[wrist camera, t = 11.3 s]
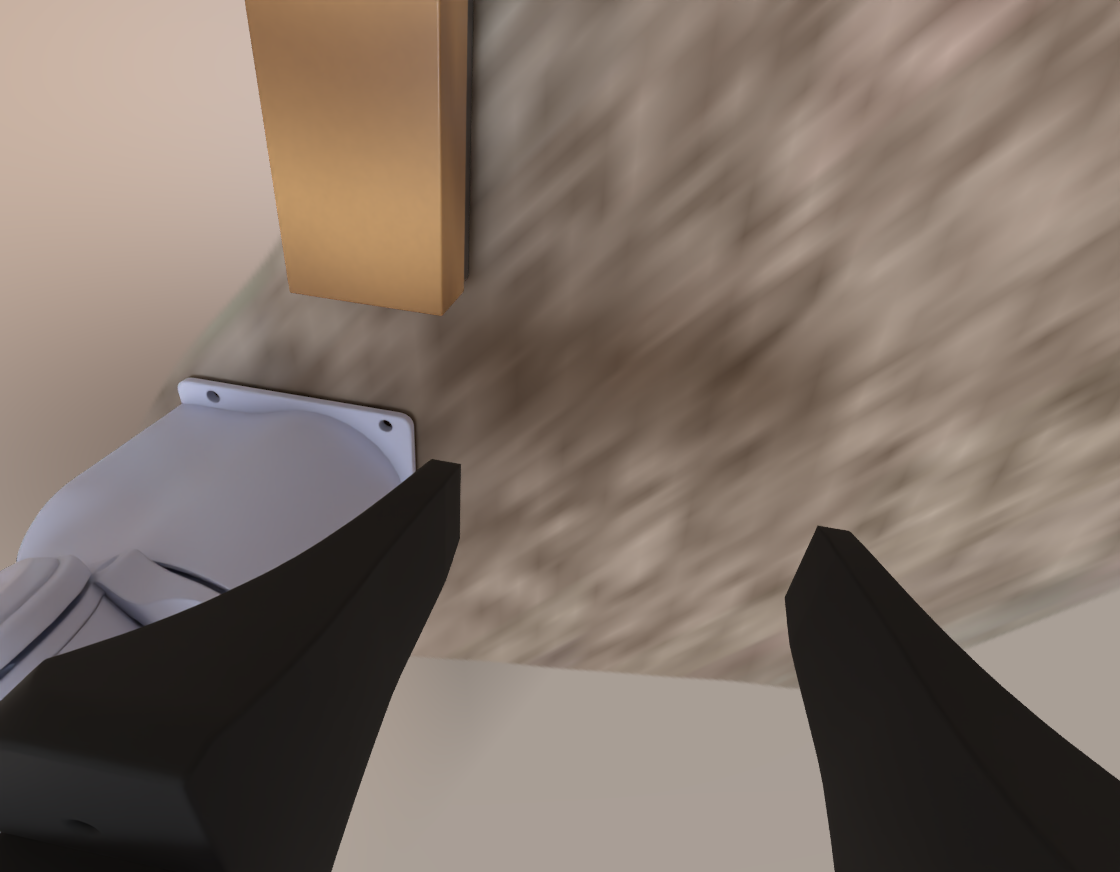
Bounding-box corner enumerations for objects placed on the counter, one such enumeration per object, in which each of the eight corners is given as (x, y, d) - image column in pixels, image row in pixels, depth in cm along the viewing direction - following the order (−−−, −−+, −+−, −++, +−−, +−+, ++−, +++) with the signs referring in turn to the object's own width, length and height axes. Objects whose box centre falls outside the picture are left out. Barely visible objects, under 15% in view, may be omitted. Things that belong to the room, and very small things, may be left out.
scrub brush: (476, 278, 19) (442, 317, 16) (346, 259, 20) (289, 293, 16) (488, -193, 13) (438, -271, 10) (300, -211, 14) (198, -291, 11)
